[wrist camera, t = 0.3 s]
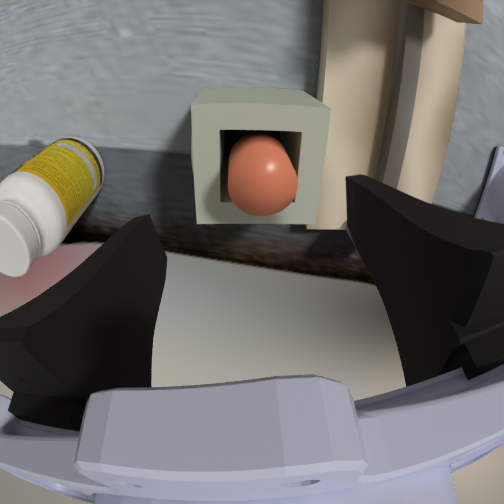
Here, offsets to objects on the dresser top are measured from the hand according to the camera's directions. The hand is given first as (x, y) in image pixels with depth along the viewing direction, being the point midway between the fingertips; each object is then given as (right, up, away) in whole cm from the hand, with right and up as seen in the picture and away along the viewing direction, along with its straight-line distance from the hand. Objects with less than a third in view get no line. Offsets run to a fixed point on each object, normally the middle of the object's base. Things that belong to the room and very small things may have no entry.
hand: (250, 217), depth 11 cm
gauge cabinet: (0, +7, +8) cm, 10 cm away
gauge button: (0, +3, +4) cm, 5 cm away
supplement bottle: (-13, +5, +9) cm, 16 cm away
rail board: (+9, +11, +5) cm, 15 cm away
